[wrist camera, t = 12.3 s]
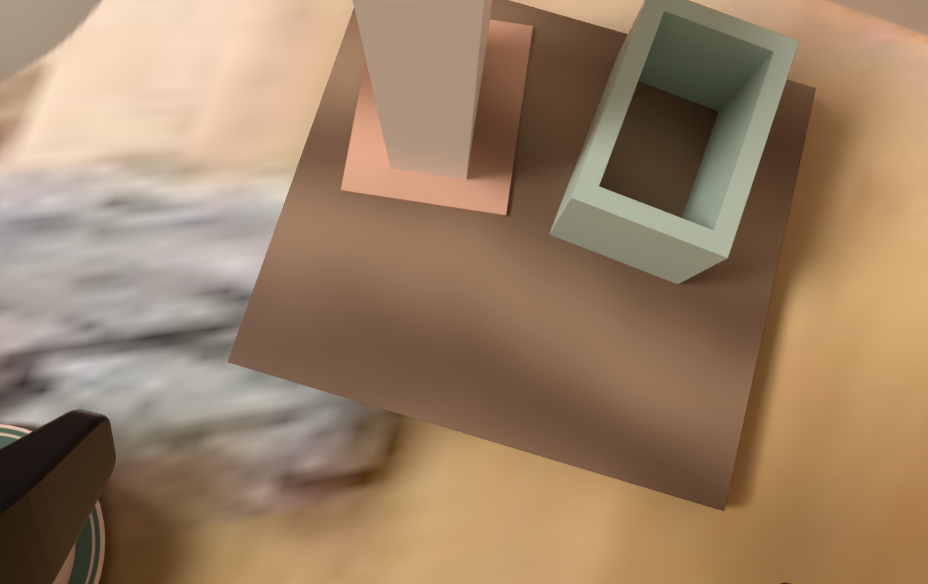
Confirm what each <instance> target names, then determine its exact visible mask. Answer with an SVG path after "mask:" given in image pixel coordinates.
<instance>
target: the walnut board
mask: <svg viewBox="0 0 928 584" xmlns="http://www.w3.org/2000/svg"><path fill="white" fill-rule="evenodd" d="M627 35H628V34H624V33H621V32H618V31H614V30H611V29H607V28H604V27H600V26H597V25H593V24H590V23H586V22H583V21H579V20H576V19H572V18H569V17H565V16H562V15H558V14H555V13H551V12H548V11H544V10H541V9H537V8H534V7H530V6H527V5H523V4H520V3H516V2H513V1H509V0H492V8H491V16H490V24H489V33H488V41H487V49H486V55H485V62H484V68H483V75H482V81H481V88H480V94H479V101H478V107H477V114H476V120H475V127H474V133H473V140H472V146H471V153H470V159H469V166H468V173H467V179H459V178H452V177H446V176H439V175H432V174H426V173H419V172H413V171H406V170H399V169H393V168H390V165H389V160H388V156H387V151H386V147H385V142H384V138H383V134H382V129H381V125H380V120H379V116H378V111H377V107H376V102H375V98H374V93H373V89H372V84H371V80H370V75H369V71H368V67H367V62H366V58H365V53H364V49H363V44H362V40H361V35H360V31H359V26H358V22H357V17H356V13H355V8H354V10H353V12H352V15H351V18H350V21H349V24H348V26H347V29H346V32H345V35H344V38H343V40H342V43H341V46H340V49H339V52H338V54H337V57H336V60H335V63H334V66H333V68H332V71H331V74H330V77H329V80H328V82H327V85H326V88H325V91H324V94H323V96H322V99H321V102H320V105H319V108H318V110H317V113H316V116H315V119H314V122H313V124H312V127H311V130H310V133H309V136H308V138H307V141H306V144H305V147H304V150H303V152H302V155H301V158H300V161H299V164H298V166H297V169H296V172H295V175H294V178H293V180H292V183H291V186H290V189H289V192H288V194H287V197H286V200H285V203H284V206H283V208H282V211H281V214H280V217H279V220H278V222H277V225H276V228H275V231H274V234H273V236H272V239H271V242H270V245H269V248H268V250H267V253H266V256H265V259H264V262H263V264H262V267H261V270H260V273H259V276H258V278H257V281H256V284H255V287H254V290H253V292H252V295H251V298H250V301H249V304H248V306H247V309H246V312H245V315H244V318H243V320H242V323H241V326H240V329H239V332H238V334H237V337H236V340H235V343H234V346H233V348H232V351H231V354H230V357H229V360H228V362H229V363H232V364H236V365H239V366H242V367H246V368H249V369H252V370H256V371H259V372H262V373H266V374H269V375H272V376H276V377H279V378H282V379H286V380H289V381H292V382H296V383H299V384H302V385H306V386H309V387H312V388H316V389H319V390H322V391H326V392H329V393H332V394H336V395H339V396H342V397H346V398H349V399H352V400H356V401H359V402H362V403H366V404H369V405H372V406H376V407H379V408H382V409H386V410H389V411H392V412H396V413H399V414H402V415H406V416H409V417H412V418H416V419H419V420H422V421H426V422H429V423H432V424H436V425H439V426H442V427H446V428H449V429H452V430H456V431H459V432H462V433H466V434H469V435H472V436H476V437H479V438H482V439H486V440H489V441H492V442H495V443H499V444H502V445H505V446H509V447H512V448H515V449H519V450H522V451H525V452H529V453H532V454H535V455H539V456H542V457H545V458H549V459H552V460H555V461H559V462H562V463H565V464H569V465H572V466H575V467H579V468H582V469H585V470H589V471H592V472H595V473H599V474H602V475H605V476H609V477H612V478H615V479H619V480H622V481H625V482H629V483H632V484H635V485H639V486H642V487H645V488H649V489H652V490H655V491H659V492H662V493H665V494H669V495H672V496H675V497H679V498H682V499H685V500H689V501H692V502H695V503H699V504H702V505H705V506H709V507H712V508H715V509H719V510H722V511H724V510H725V506H726V501H727V496H728V492H729V487H730V483H731V478H732V473H733V469H734V464H735V459H736V455H737V450H738V446H739V441H740V436H741V432H742V427H743V422H744V418H745V413H746V409H747V404H748V399H749V395H750V390H751V385H752V381H753V376H754V372H755V367H756V362H757V358H758V353H759V348H760V344H761V339H762V335H763V330H764V325H765V321H766V316H767V311H768V307H769V302H770V297H771V293H772V288H773V284H774V279H775V274H776V270H777V265H778V260H779V256H780V251H781V247H782V242H783V237H784V233H785V228H786V223H787V219H788V214H789V210H790V205H791V200H792V196H793V191H794V186H795V182H796V177H797V173H798V168H799V163H800V159H801V154H802V149H803V145H804V140H805V136H806V131H807V126H808V122H809V117H810V112H811V108H812V103H813V99H814V94H815V89H816V88H813V87H810V86H806V85H803V84H799V83H796V82H792V81H789V80H786V83H785V86H784V89H783V92H782V95H781V98H780V101H779V104H778V107H777V110H776V113H775V116H774V119H773V122H772V125H771V128H770V131H769V134H768V138H767V141H766V144H765V147H764V150H763V153H762V156H761V159H760V162H759V165H758V168H757V171H756V174H755V177H754V180H753V183H752V186H751V189H750V192H749V195H748V198H747V201H746V204H745V207H744V210H743V213H742V216H741V219H740V223H739V226H738V229H737V232H736V235H735V238H734V241H733V244H732V247H731V250H730V253H729V256H728V258H727V259H725V260H723V261H721V262H719V263H717V264H715V265H714V266H712V267H710V268H708V269H706V270H704V271H702V272H700V273H698V274H696V275H695V276H693V277H691V278H689V279H687V280H685V281H683V282H681V283H679V284H676V283H673V282H671V281H668V280H665V279H663V278H660V277H658V276H655V275H652V274H650V273H647V272H645V271H642V270H640V269H637V268H634V267H632V266H629V265H627V264H624V263H621V262H619V261H616V260H614V259H611V258H609V257H606V256H603V255H601V254H598V253H596V252H593V251H590V250H588V249H585V248H583V247H580V246H578V245H575V244H572V243H570V242H567V241H565V240H562V239H559V238H557V237H554V236H552V235H549V234H550V231H551V228H552V226H553V223H554V221H555V218H556V215H557V213H558V210H559V207H560V205H561V202H562V200H563V197H564V194H565V192H566V189H567V186H568V184H569V181H570V179H571V176H572V173H573V171H574V168H575V166H576V163H577V160H578V158H579V155H580V152H581V150H582V147H583V145H584V142H585V139H586V137H587V134H588V131H589V129H590V126H591V124H592V121H593V118H594V116H595V113H596V111H597V108H598V105H599V103H600V100H601V97H602V95H603V92H604V90H605V87H606V84H607V82H608V79H609V76H610V74H611V71H612V69H613V66H614V63H615V61H616V58H617V56H618V54H619V52H620V50H621V48H622V46H623V44H624V42H625V40H626V37H627ZM718 112H719V111H716V110H714V109H711V108H708V107H706V106H703V105H700V104H698V103H695V102H692V101H690V100H687V99H684V98H682V97H679V96H676V95H674V94H671V93H668V92H666V91H663V90H660V89H658V88H655V87H652V86H650V85H647V84H644V83H642V82H639V81H638V83H637V85H636V88H635V91H634V93H633V96H632V99H631V102H630V104H629V107H628V110H627V112H626V115H625V118H624V120H623V123H622V126H621V128H620V131H619V134H618V136H617V139H616V142H615V144H614V147H613V150H612V152H611V155H610V158H609V161H608V163H607V166H606V169H605V171H604V174H603V177H602V179H601V182H600V185H599V187H602V188H604V189H607V190H610V191H612V192H615V193H617V194H620V195H623V196H625V197H628V198H630V199H633V200H636V201H638V202H641V203H644V204H646V205H649V206H651V207H654V208H657V209H659V210H662V211H664V212H667V213H670V214H672V215H675V216H677V217H680V218H682V216H683V213H684V210H685V207H686V204H687V201H688V198H689V195H690V192H691V190H692V187H693V184H694V181H695V178H696V175H697V172H698V169H699V166H700V164H701V161H702V158H703V155H704V152H705V149H706V146H707V143H708V140H709V138H710V135H711V132H712V129H713V126H714V123H715V120H716V117H717V114H718Z"/></svg>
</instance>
